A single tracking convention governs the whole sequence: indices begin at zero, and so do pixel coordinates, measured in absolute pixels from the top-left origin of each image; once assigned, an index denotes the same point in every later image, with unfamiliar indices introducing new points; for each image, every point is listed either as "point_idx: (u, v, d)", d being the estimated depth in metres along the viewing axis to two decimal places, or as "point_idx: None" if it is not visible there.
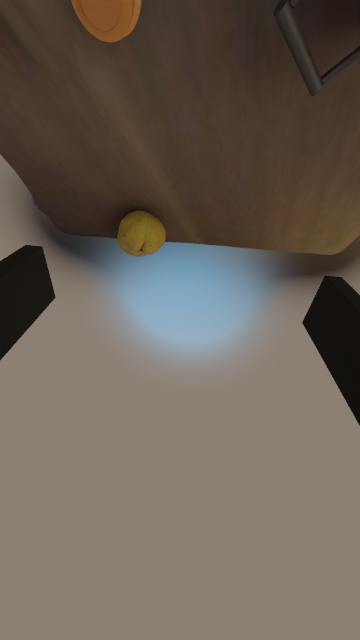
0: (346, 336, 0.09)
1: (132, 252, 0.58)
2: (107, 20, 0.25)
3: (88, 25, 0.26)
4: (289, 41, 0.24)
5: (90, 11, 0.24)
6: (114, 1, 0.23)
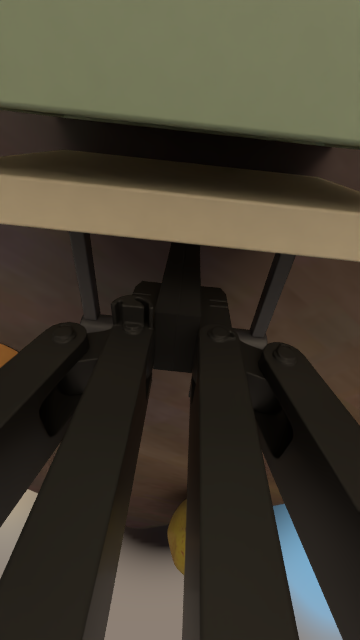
0: None
1: None
2: None
3: None
4: None
5: None
6: None
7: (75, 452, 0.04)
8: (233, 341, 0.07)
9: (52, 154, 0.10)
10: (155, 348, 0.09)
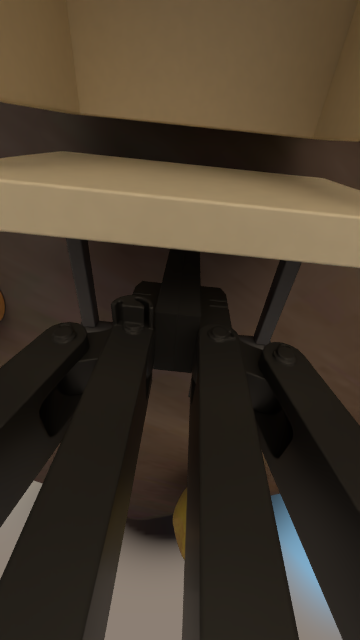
0: None
1: None
2: None
3: None
4: None
5: None
6: None
7: (75, 452, 0.04)
8: (233, 341, 0.07)
9: (48, 156, 0.10)
10: (155, 348, 0.09)
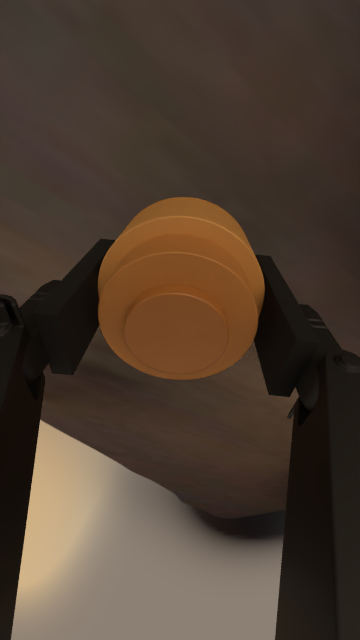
0: None
1: None
2: (203, 351, 0.09)
3: (169, 373, 0.11)
4: None
5: (162, 359, 0.10)
6: (207, 315, 0.08)
7: None
8: None
9: None
10: None
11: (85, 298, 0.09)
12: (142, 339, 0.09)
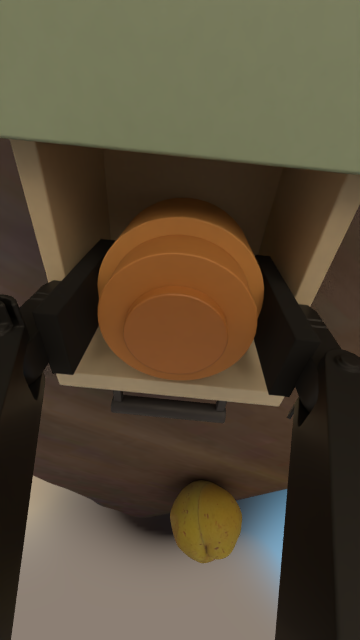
0: None
1: (200, 561, 0.36)
2: (203, 352, 0.09)
3: (169, 373, 0.11)
4: (144, 415, 0.20)
5: (162, 360, 0.10)
6: (206, 316, 0.08)
7: None
8: None
9: None
10: None
11: (85, 298, 0.09)
12: (142, 339, 0.09)
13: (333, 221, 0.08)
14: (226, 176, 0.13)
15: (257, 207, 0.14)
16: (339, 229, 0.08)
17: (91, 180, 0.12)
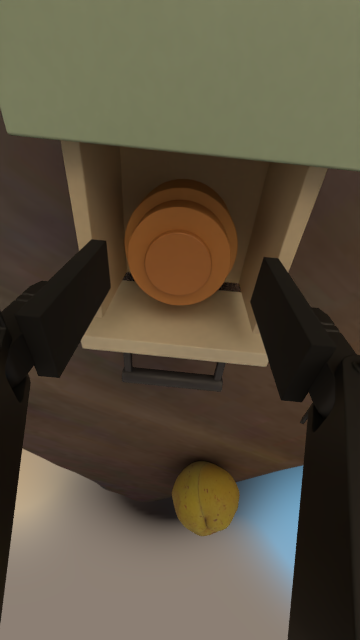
0: (272, 307, 0.11)
1: (200, 534, 0.39)
2: (196, 276, 0.14)
3: (173, 299, 0.16)
4: (151, 384, 0.22)
5: (169, 283, 0.14)
6: (197, 248, 0.13)
7: None
8: None
9: None
10: None
11: (72, 299, 0.09)
12: (156, 267, 0.14)
13: (299, 206, 0.11)
14: (222, 174, 0.16)
15: (248, 200, 0.17)
16: (304, 212, 0.11)
17: (112, 177, 0.14)
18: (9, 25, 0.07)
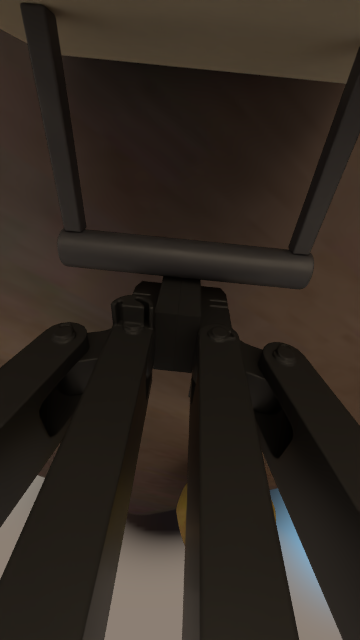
0: None
1: None
2: None
3: None
4: (133, 270, 0.09)
5: None
6: None
7: (75, 452, 0.04)
8: (233, 341, 0.07)
9: None
10: (155, 348, 0.09)
11: None
12: None
13: None
14: None
15: None
16: None
17: None
18: None
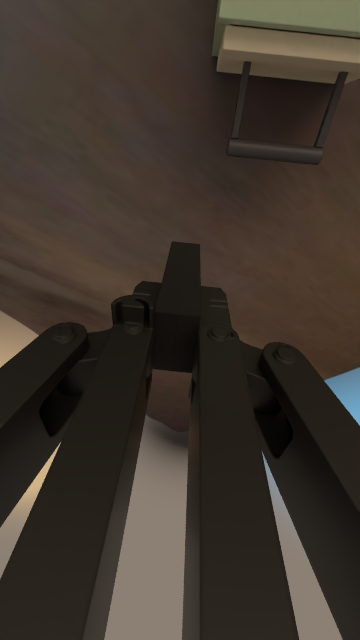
0: None
1: None
2: None
3: None
4: (254, 154, 0.24)
5: None
6: None
7: (75, 452, 0.04)
8: (233, 341, 0.07)
9: None
10: (155, 348, 0.09)
11: None
12: None
13: None
14: None
15: None
16: None
17: None
18: None
